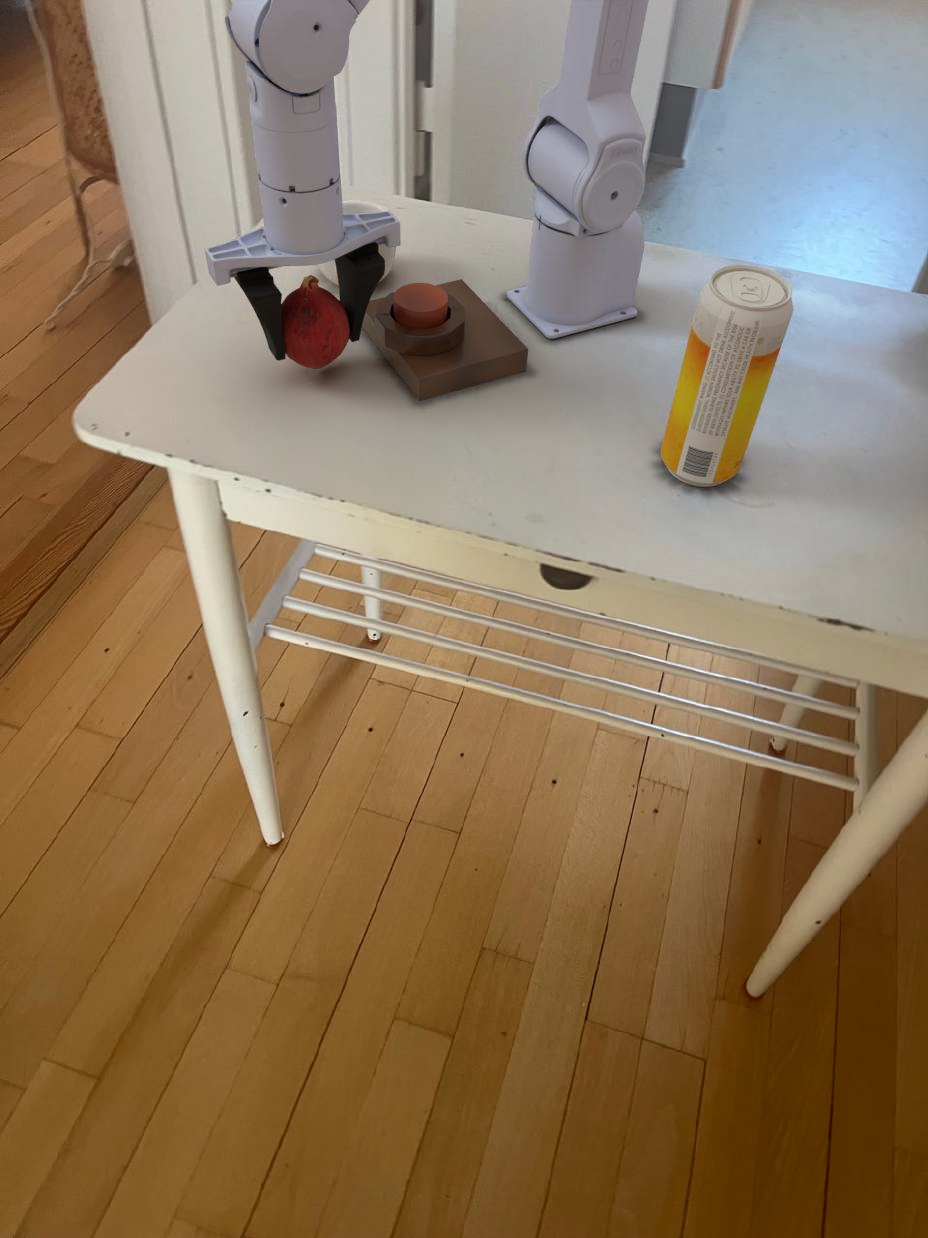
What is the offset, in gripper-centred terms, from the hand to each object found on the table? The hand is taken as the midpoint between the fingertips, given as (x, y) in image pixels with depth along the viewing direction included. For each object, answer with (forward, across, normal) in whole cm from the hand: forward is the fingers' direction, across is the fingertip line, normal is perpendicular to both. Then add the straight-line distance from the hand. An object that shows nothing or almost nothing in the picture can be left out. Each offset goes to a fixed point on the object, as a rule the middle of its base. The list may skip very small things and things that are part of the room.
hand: (315, 343), depth 77 cm
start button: (-1, -9, +1) cm, 9 cm away
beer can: (+3, -22, +23) cm, 32 cm away
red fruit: (+2, 0, 0) cm, 2 cm away
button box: (+3, -11, +1) cm, 11 cm away
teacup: (+3, -8, -12) cm, 15 cm away
